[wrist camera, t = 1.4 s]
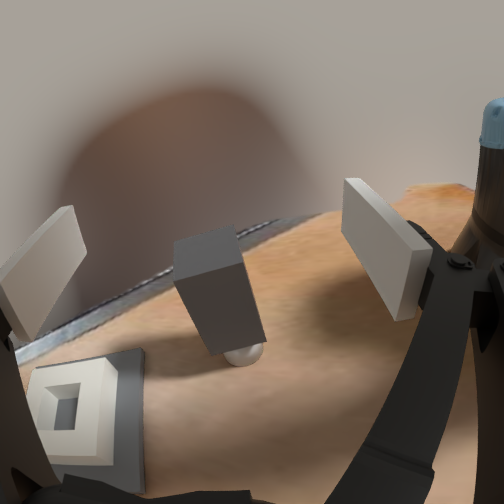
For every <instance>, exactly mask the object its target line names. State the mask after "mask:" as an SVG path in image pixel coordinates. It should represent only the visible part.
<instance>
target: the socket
mask: <svg viewBox="0 0 504 504" xmlns="http://www.w3.org/2000/svg"><path fill="white" fill-rule="evenodd" d="M144 357H145V352H144V351H143V349H142V348H137V349H132V350H128V351H123V352H118V353H113V354H108V355H103V356H97V357H92V358H87V359H81V360H76V361H70V362H64V363H58V364H52V365H46V366H40V367H36V369H33V370H32V374H31V378H30V382H29V386H28V390H27V394H26V399H27V402H28V405H29V408H30V412H31V415H32V418H33V421H34V423H35V426H36V429H37V432H38V435H39V437H40V440H41V442H42V445H43V448H44V450H45V452H46V455H47V457H48V460H49V462H50V464H51V467H52V469H53V471H54V473H55V475H56V477H57V478H58V480H59V481H60V482H61V483H62V482H63V477H64V473H66V474H70V475H74V476H78V477H83V478H88V479H93V480H98V481H103V482H105V483H107V484H109V485H111V486H114V487H116V488H119V489H121V490H123V491H126V492H128V493H131V494H146V493H145V476H144V451H143V383H144Z"/></svg>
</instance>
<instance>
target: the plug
mask: <svg viewBox="0 0 504 504" xmlns="http://www.w3.org/2000/svg"><path fill="white" fill-rule="evenodd" d="M173 282H174V284H175V286H176V289H177V291H178V293H179V295H180V297H181V299H182V301H183V303H184V305H185V307H186V309H187V311H188V313H189V315H190V316H191V318H192V320H193V322H194V324H195V326H196V328H197V330H198V332H199V334H200V336H201V338H202V339H203V341H204V343H205V345H206V347H207V349H208V351H209V352H210V354H211V356H213V355H217V354H221V353H223V354H224V356H225V358H226V360H227V361H228V362H229V363H230V364H232V365H234V366H238V367H243V366H248V365H251V364H253V363H254V362H256V361H257V360H258V359H259V358H260V357H261V355H262V352H263V344H262V343H263V342H267V341H266V337H265V333H264V330H263V326H262V323H261V319H260V315H259V312H258V308H257V304H256V301H255V297H254V294H253V290H252V287H251V283H250V280H249V277H248V273H247V270H246V266H245V263H244V259H243V256H242V252H241V249H240V245H239V242H238V238H237V235H236V231H235V228H234V225H230V226H226V227H223V228H219V229H216V230H212V231H209V232H205V233H202V234H199V235H195V236H192V237H188V238H185V239H181V240H178V241H175V242H174V262H173Z"/></svg>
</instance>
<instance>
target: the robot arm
mask: <svg viewBox="0 0 504 504" xmlns="http://www.w3.org/2000/svg"><path fill="white" fill-rule="evenodd" d="M479 142H480V145H481V146H480V158H479V167H478V175H477V183H476V190H475V197H474V203H473V209H472V214H471V216H470V218H469V220H468V222H467V223H466V225H465V227H464V228H463V230H462V232H461V233H460V235H459V237H458V238H457V240H456V242H455V243H454V245H453V247H452V250H451V253H447V252H446V251H445V250H444V249H443V248H442V247H441V246H440V245H439V244H438V243H437V242H436V241H435V240H434V239H432V237H431V236H430V235H429V234H427V232H426V231H425V230H424V229H423V228H422V227H421V226H419V225H417V224H416V223H414V222H412V221H410V220H408V221H406V220H405V219H403V218H402V217H401V216H400V215H399V214H398V213H397V212H396V211H395V210H394V209H393V208H392V207H391V206H390V205H389V204H388V203H387V202H386V201H384V200H383V199H382V198H381V197H380V196H379V195H378V194H377V193H376V192H375V191H373V190H372V189H371V188H370V187H369V186H368V185H367V184H366V183H365V182H364V181H362V180H361V179H360V178H344V193H343V211H342V226H341V232H342V233H343V235H344V237H345V238H346V240H347V241H348V243H349V245H350V246H351V248H352V249H353V251H354V253H355V254H356V256H357V257H358V259H359V261H360V262H361V264H362V266H363V267H364V269H365V271H366V272H367V274H368V276H369V277H370V279H371V281H372V282H373V284H374V286H375V287H376V289H377V291H378V293H379V294H380V296H381V298H382V300H383V301H384V303H385V305H386V307H387V308H388V310H389V312H390V314H391V315H392V317H393V319H394V321H395V322H396V321H402V320H407V319H413V318H414V316H415V313H416V310H417V307H418V304H419V306H420V307H421V309H422V310H423V312H422V315H421V318H420V321H419V324H418V326H417V329H416V332H415V334H414V337H413V340H412V342H411V345H410V347H409V350H408V352H407V354H406V357H405V359H404V362H403V364H402V366H401V369H400V371H399V373H398V375H397V378H396V380H395V382H394V384H393V386H392V389H391V391H390V393H389V395H388V397H387V399H386V401H385V403H384V405H383V407H382V409H381V411H380V413H379V415H378V417H377V419H376V421H375V423H374V425H373V427H372V428H371V430H370V432H369V434H368V436H367V437H366V439H365V441H364V443H363V444H362V446H361V447H360V449H359V451H358V452H357V454H356V456H355V457H354V459H353V461H352V462H351V464H350V465H349V467H348V469H347V470H346V472H345V473H344V475H343V476H342V478H341V480H340V481H339V483H338V484H337V486H336V487H335V489H334V490H333V492H332V493H331V495H330V496H329V497H328V499H327V500H326V502H325V503H324V504H424V502H425V499H426V497H427V495H428V493H429V490H430V488H431V485H432V482H433V479H434V473H435V471H434V470H433V469H432V463H433V460H434V458H435V455H436V452H437V450H438V447H439V444H440V441H441V438H442V435H443V433H444V430H445V426H446V423H447V420H448V417H449V414H450V410H451V407H452V403H453V400H454V396H455V392H456V389H457V385H458V381H459V376H460V372H461V368H462V363H463V358H464V353H465V348H466V343H467V337H468V331H469V328H470V330H471V337H472V344H473V353H474V361H475V372H476V384H477V402H478V456H477V472H476V484H475V494H474V502H473V504H504V98H499V99H495V100H493V101H491V102H489V103H488V104H487V106H486V107H485V110H484V114H483V124H482V132H481V136H480V138H479ZM86 254H87V251H86V248H85V245H84V242H83V239H82V235H81V232H80V229H79V226H78V222H77V219H76V215H75V212H74V208H73V205H70V206H65V207H60V209H58V210H57V211H56V212H55V213H54V214H53V215H52V216H51V217H50V218H49V219H48V220H47V221H46V222H44V223H43V224H42V225H41V226H40V227H39V228H38V229H37V230H36V231H35V232H34V233H33V234H32V235H31V236H30V237H29V238H28V239H27V240H26V241H25V242H24V243H23V244H22V245H21V247H20V248H19V249H18V250H17V251H16V252H15V253H14V254H13V255H12V256H11V257H10V258H9V260H8V261H7V262H6V263H5V264H4V265H3V266H2V267H1V268H0V504H274V503H270V502H266V501H262V500H256V499H252V496H251V493H250V490H241V491H195V492H190V493H185V494H179V495H173V496H167V497H160V498H153V499H145V498H141V497H139V496H136V495H133V494H131V493H128V492H126V491H123V490H121V489H119V488H116V487H114V486H111V485H109V484H107V483H105V482H103V481H98V480H93V479H88V478H83V477H78V476H74V475H70V474H66V473H64V477H63V482H62V483H61V482H60V481H59V480H58V478H57V477H56V475H55V473H54V471H53V469H52V467H51V464H50V462H49V460H48V457H47V455H46V452H45V450H44V448H43V445H42V442H41V440H40V437H39V435H38V432H37V429H36V426H35V423H34V421H33V418H32V415H31V412H30V408H29V405H28V402H27V399H26V395H25V392H24V388H23V385H22V381H21V377H20V373H19V369H18V365H17V361H16V357H15V352H14V347H13V343H12V341H11V340H10V338H9V337H8V335H9V334H10V332H11V331H12V330H13V332H14V334H15V335H16V337H17V339H18V340H19V341H23V342H33V340H34V338H35V336H36V334H37V333H38V331H39V329H40V327H41V326H42V324H43V322H44V320H45V318H46V317H47V315H48V314H49V312H50V310H51V308H52V307H53V305H54V303H55V302H56V300H57V299H58V297H59V295H60V294H61V292H62V290H63V289H64V287H65V286H66V284H67V283H68V281H69V280H70V278H71V276H72V275H73V273H74V272H75V270H76V269H77V267H78V266H79V264H80V263H81V261H82V260H83V258H84V257H85V256H86Z"/></svg>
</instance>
